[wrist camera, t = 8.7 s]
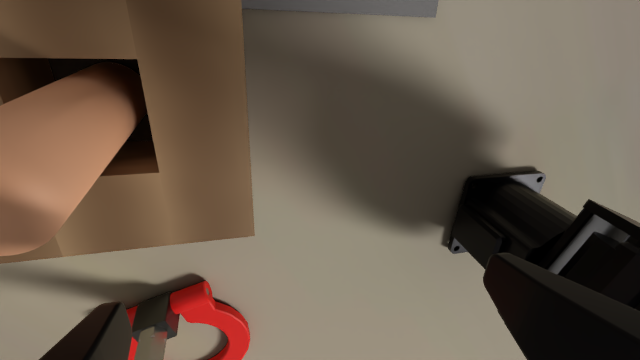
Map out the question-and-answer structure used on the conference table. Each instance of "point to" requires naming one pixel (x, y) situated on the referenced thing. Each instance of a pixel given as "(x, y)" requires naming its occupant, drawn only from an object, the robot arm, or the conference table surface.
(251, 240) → the conference table surface
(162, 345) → the tow hook
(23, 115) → the peg
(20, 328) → the conference table surface
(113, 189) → the socket block
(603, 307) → the robot arm
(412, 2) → the mat
